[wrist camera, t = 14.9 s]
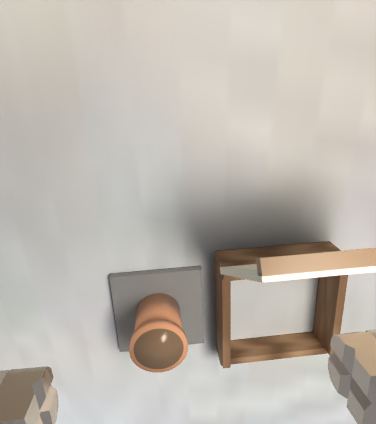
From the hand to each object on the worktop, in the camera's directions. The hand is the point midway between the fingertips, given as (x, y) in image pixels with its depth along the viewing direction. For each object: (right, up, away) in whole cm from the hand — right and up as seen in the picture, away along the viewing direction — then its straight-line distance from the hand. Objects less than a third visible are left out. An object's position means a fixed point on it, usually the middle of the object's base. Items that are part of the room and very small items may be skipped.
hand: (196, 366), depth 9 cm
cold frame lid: (+12, -1, +21) cm, 24 cm away
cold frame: (+12, -8, +37) cm, 40 cm away
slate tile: (-4, -9, +36) cm, 37 cm away
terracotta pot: (-4, -9, +35) cm, 36 cm away
